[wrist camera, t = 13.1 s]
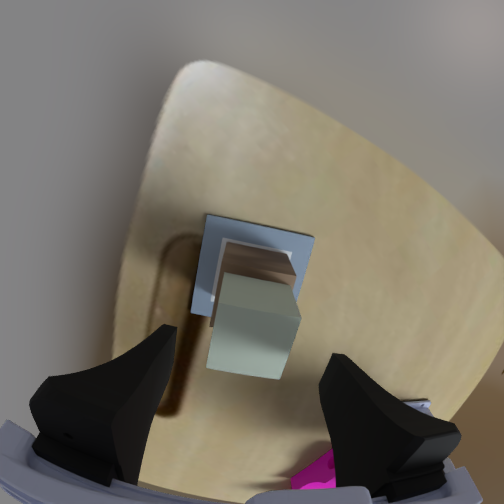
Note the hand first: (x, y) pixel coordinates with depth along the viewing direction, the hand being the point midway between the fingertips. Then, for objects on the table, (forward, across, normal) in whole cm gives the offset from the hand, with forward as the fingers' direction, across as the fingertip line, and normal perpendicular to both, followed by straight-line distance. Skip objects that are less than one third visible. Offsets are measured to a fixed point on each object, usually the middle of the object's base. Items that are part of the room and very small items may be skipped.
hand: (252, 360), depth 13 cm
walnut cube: (+10, 0, 0) cm, 10 cm away
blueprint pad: (+10, 0, 0) cm, 10 cm away
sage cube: (+6, 0, 0) cm, 6 cm away
